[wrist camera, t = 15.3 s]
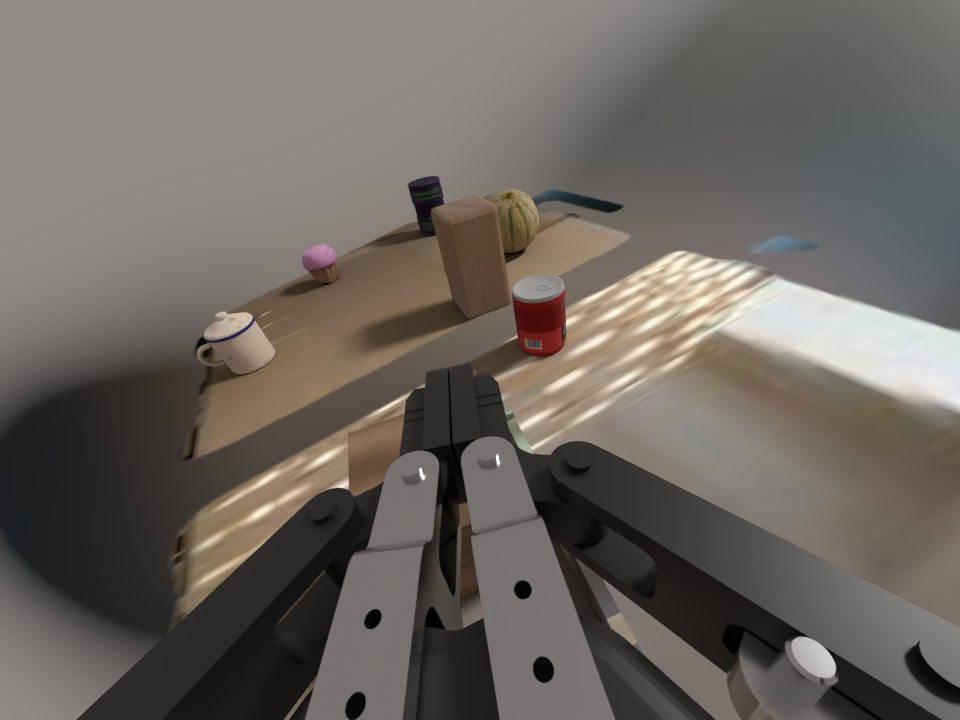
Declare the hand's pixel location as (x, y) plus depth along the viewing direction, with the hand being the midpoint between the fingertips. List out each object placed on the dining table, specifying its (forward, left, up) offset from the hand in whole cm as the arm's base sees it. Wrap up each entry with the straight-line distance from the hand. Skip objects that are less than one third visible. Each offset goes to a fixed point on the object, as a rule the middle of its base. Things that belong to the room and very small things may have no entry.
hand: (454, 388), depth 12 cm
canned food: (+13, -39, -30) cm, 51 cm away
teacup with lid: (+69, -18, -30) cm, 78 cm away
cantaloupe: (+34, -75, -30) cm, 88 cm away
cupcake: (+80, -52, -30) cm, 100 cm away
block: (+30, -49, -30) cm, 65 cm away
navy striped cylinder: (+67, -88, -30) cm, 115 cm away
